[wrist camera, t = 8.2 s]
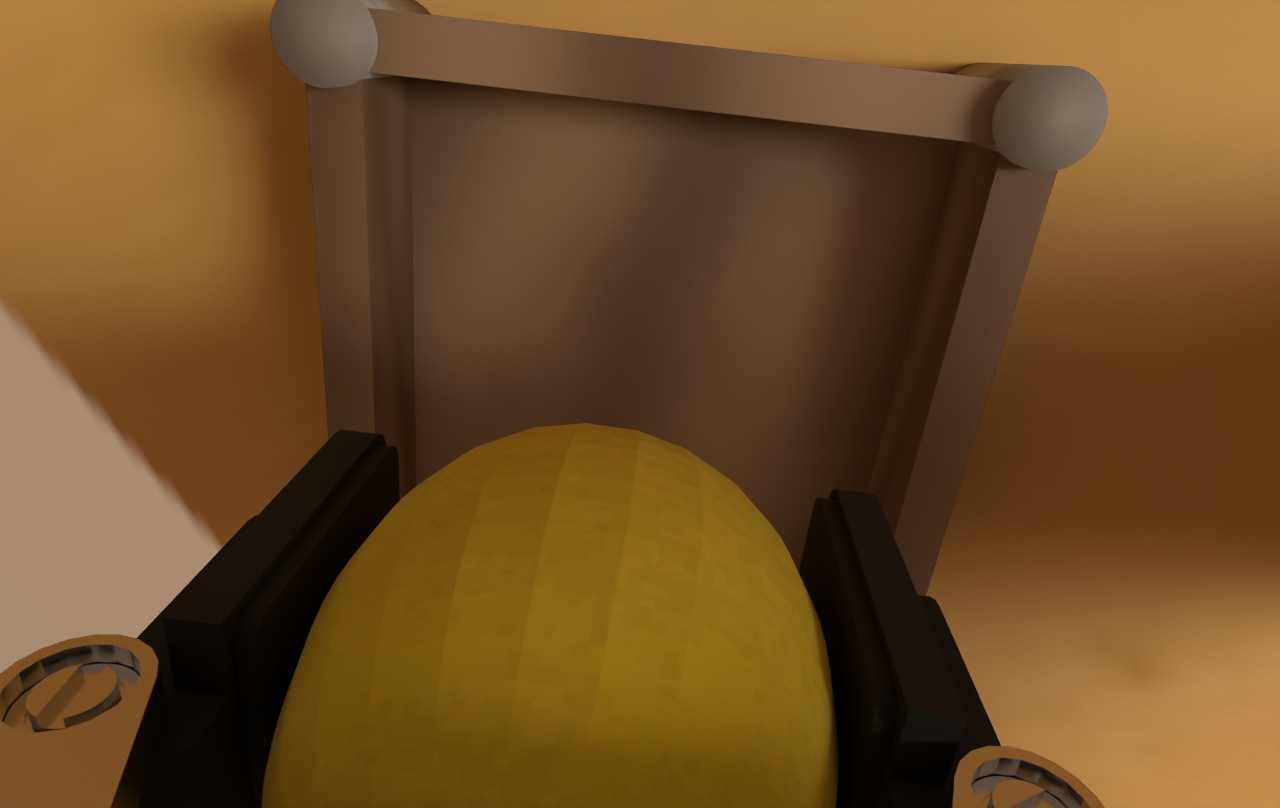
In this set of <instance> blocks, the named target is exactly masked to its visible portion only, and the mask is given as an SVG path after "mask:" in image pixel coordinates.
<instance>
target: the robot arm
mask: <svg viewBox="0 0 1280 808" xmlns="http://www.w3.org/2000/svg"><path fill="white" fill-rule="evenodd" d="M399 501H400V490H399V456H398V450H397V448H396V447H395V446H388V445H386V441H385V437H384V436H383V435H382V434H375V433H367V432H359V431H351V430H339V431H337V432H336V433H335V434H334V435H333V436H332V437H331V438H330V439H329V440H328V441H327V442H326V443H325V445H324V446H323V447H322V448H321V449H320V450H319V451H318V452H317V453H316V454H315V455H314V456H313V457H312V458H311V459H310V461H309V462H308V463H307V464H306V465H305V466H304V467H303V468H302V469H301V470H300V471H299V472H298V473H297V474H296V475H295V477H294V478H293V479H292V480H291V481H290V482H289V483H288V484H287V485H286V486H285V487H284V488H283V489H282V490H281V491H280V493H279V494H278V495H277V496H276V497H275V498H274V499H273V500H272V501H271V502H270V503H269V504H268V505H267V506H266V507H265V508H264V510H263V511H262V512H261V513H260V514H259V515H256V516H254V517H253V518H251V519H250V520H249V521H248V522H246V524H245V525H244V526H243V527H242V528H241V529H240V530H239V531H238V532H237V533H236V534H235V535H234V536H233V537H232V538H231V539H230V540H229V541H228V543H227V544H226V545H225V546H224V547H223V548H222V549H221V550H220V551H219V552H218V553H217V554H216V555H215V556H214V557H213V558H212V560H211V561H210V562H209V563H208V564H207V565H206V566H205V567H204V568H203V569H202V570H201V571H200V572H199V573H198V574H197V575H196V576H195V577H194V578H193V580H192V581H191V582H190V583H189V584H188V585H187V586H186V587H185V588H184V589H183V590H182V591H181V592H180V593H179V594H178V595H177V596H176V597H175V598H174V599H173V601H172V602H171V603H170V604H169V605H168V606H167V607H166V608H165V609H164V610H163V611H162V612H161V613H160V614H159V615H158V616H157V617H156V618H155V619H154V621H153V622H152V623H151V624H150V625H149V626H148V627H147V628H146V629H145V630H144V631H143V632H142V633H141V634H140V635H139V636H138V637H137V638H131V637H127V636H123V635H90V636H85V637H79V638H73V639H68V640H66V641H63V642H59V643H57V644H54V645H51V646H48V647H45V648H42V649H40V650H38V651H36V652H34V653H33V654H30V655H28V656H26V657H25V658H23V659H21V660H19V661H17V662H15V663H14V664H13V665H11V666H10V667H9V668H8V669H6V670H5V671H3V672H2V673H1V674H0V808H262V797H263V784H264V777H265V772H266V767H267V762H268V757H269V753H270V748H271V743H272V739H273V736H274V732H275V729H276V725H277V722H278V718H279V715H280V711H281V708H282V705H283V703H284V700H285V697H286V694H287V692H288V689H289V686H290V683H291V681H292V678H293V675H294V672H295V670H296V667H297V664H298V662H299V659H300V656H301V653H302V651H303V648H304V645H305V643H306V640H307V637H308V635H309V632H310V629H311V627H312V625H313V623H314V620H315V618H316V616H317V614H318V612H319V609H320V607H321V605H322V603H323V601H324V599H325V597H326V596H327V594H328V592H329V590H330V589H331V587H332V585H333V583H334V582H335V580H336V578H337V577H338V575H339V574H340V573H341V571H342V570H343V568H344V567H345V566H346V564H347V563H348V562H349V560H350V559H351V558H352V556H353V555H354V554H355V553H356V551H357V550H358V549H359V548H360V546H361V545H362V544H363V543H364V542H365V540H366V539H367V538H368V537H369V536H370V534H371V533H372V532H373V531H374V530H375V528H376V527H377V526H378V525H379V523H380V522H381V521H382V520H383V519H384V517H385V516H386V515H387V514H388V513H389V512H390V511H391V510H392V508H393V507H394V506H395V505H396V504H397V503H398V502H399ZM798 573H799V575H800V577H801V579H802V581H803V583H804V585H805V587H806V589H807V592H808V594H809V596H810V598H811V600H812V603H813V605H814V608H815V610H816V613H817V615H818V618H819V620H820V623H821V627H822V631H823V635H824V638H825V642H826V646H827V653H828V659H829V666H830V673H831V681H832V690H833V698H834V707H835V715H836V724H837V739H838V789H837V800H836V808H1105V807H1104V806H1103V804H1102V803H1101V802H1100V800H1099V799H1098V797H1097V796H1096V795H1095V794H1094V793H1093V792H1091V791H1090V790H1089V789H1088V788H1087V787H1086V786H1085V785H1084V784H1083V783H1082V782H1081V781H1080V780H1079V779H1078V778H1077V777H1075V776H1074V775H1072V774H1071V773H1069V772H1068V771H1066V770H1065V769H1063V768H1062V767H1060V766H1059V765H1058V764H1056V763H1054V762H1052V761H1050V760H1048V759H1045V758H1043V757H1041V756H1039V755H1037V754H1035V753H1033V752H1029V751H1025V750H1021V749H1017V748H1013V747H1010V746H1001V745H1000V742H999V740H998V738H997V736H996V733H995V731H994V729H993V726H992V724H991V722H990V720H989V717H988V715H987V713H986V711H985V708H984V706H983V704H982V702H981V699H980V697H979V695H978V692H977V690H976V688H975V686H974V683H973V681H972V679H971V677H970V674H969V672H968V670H967V668H966V665H965V663H964V661H963V659H962V656H961V654H960V652H959V649H958V647H957V645H956V643H955V640H954V638H953V636H952V634H951V631H950V629H949V627H948V625H947V622H946V620H945V618H944V615H943V613H942V611H941V609H940V607H939V605H938V604H937V602H936V600H935V599H933V598H931V597H929V596H922V595H918V594H917V592H916V589H915V587H914V585H913V582H912V580H911V577H910V575H909V572H908V570H907V568H906V565H905V563H904V560H903V558H902V555H901V553H900V550H899V548H898V546H897V543H896V541H895V538H894V536H893V533H892V531H891V529H890V526H889V524H888V521H887V519H886V516H885V514H884V512H883V509H882V507H881V504H880V502H879V499H878V497H877V496H876V494H870V493H861V492H853V491H845V490H837V489H834V490H833V491H832V492H831V494H830V496H829V499H824V498H817V499H816V501H815V503H814V506H813V510H812V515H811V519H810V523H809V528H808V532H807V537H806V541H805V546H804V550H803V554H802V559H801V563H800V568H799V572H798Z"/></svg>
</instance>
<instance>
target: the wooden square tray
mask: <svg viewBox="0 0 1280 808" xmlns="http://www.w3.org/2000/svg"><path fill="white" fill-rule="evenodd" d="M270 31H271V38H272V42H273V45H274V48H275V51H276V53H277V55H278V57H279V58H280V60H281V62H282V63H283V64H284V66H285V67H286V68H287V69H288V70H289V71H290V72H291V73H292V74H293V75H294V76H295V77H296V78H298V79H299V80H301V81H302V82H304V83H306V96H307V112H308V127H309V143H310V158H311V174H312V189H313V205H314V220H315V236H316V251H317V267H318V282H319V298H320V313H321V329H322V344H323V360H324V375H325V391H326V406H327V422H328V437H329V439H330V438H331V437H332V436H333V435H334V434H335V433H336V432H337V431H339V430H351V431H359V432H367V433H375V434H382V435H383V436H384V437H385V441H386V445H388V446H395V447H396V448H397V450H398V456H399V490H400V500H401V499H402V498H403V497H404V496H405V495H406V494H408V493H409V492H410V491H411V490H412V489H414V488H415V487H416V486H417V485H419V484H420V483H422V482H423V481H424V480H426V479H427V478H429V477H430V476H432V475H433V474H435V473H436V472H438V471H439V470H441V469H442V468H444V467H445V466H447V465H448V464H450V463H451V462H453V461H454V460H456V459H457V458H459V457H460V456H462V455H463V454H465V453H467V452H468V451H470V450H472V449H473V448H475V447H478V446H481V445H484V444H487V443H489V442H492V441H495V440H498V439H501V438H504V437H507V436H510V435H513V434H516V433H518V432H521V431H524V430H528V429H531V428H535V427H546V426H557V425H569V424H581V423H589V424H596V425H603V426H610V427H618V428H625V429H632V430H638V431H641V432H643V433H646V434H649V435H651V436H654V437H656V438H659V439H662V440H664V441H667V442H670V443H672V444H675V445H678V446H680V447H683V448H685V449H687V450H688V451H690V452H691V453H693V454H694V455H696V456H697V457H699V458H700V459H701V460H703V461H704V462H706V463H707V464H709V465H710V466H712V467H713V468H714V469H716V470H717V471H719V472H720V473H722V474H723V475H725V476H726V477H727V478H729V479H730V480H731V481H733V482H734V483H735V484H736V485H737V486H738V487H739V488H740V489H741V490H742V491H743V493H744V494H745V495H746V496H747V497H748V498H749V499H750V501H751V502H752V503H753V504H754V505H755V506H756V507H757V509H758V510H759V511H760V512H761V513H762V514H763V516H764V517H765V518H766V519H767V520H768V521H769V522H770V524H771V525H772V526H773V528H774V529H775V530H776V531H777V533H778V534H779V535H780V537H781V539H782V540H783V542H784V544H785V546H786V548H787V550H788V551H789V553H790V556H791V558H792V560H793V562H794V564H795V566H796V568H797V570H798V572H799V568H800V563H801V559H802V554H803V550H804V546H805V541H806V537H807V532H808V528H809V523H810V519H811V515H812V510H813V506H814V503H815V501H816V499H817V498H824V499H829V496H830V494H831V492H832V491H833V490H834V489H837V490H845V491H853V492H861V493H870V494H876V496H877V497H878V499H879V502H880V504H881V507H882V509H883V512H884V514H885V516H886V519H887V521H888V524H889V526H890V529H891V531H892V533H893V536H894V538H895V541H896V543H897V546H898V548H899V550H900V553H901V555H902V558H903V560H904V563H905V565H906V568H907V570H908V572H909V575H910V577H911V580H912V582H913V585H914V587H915V589H916V592H917V594H918V595H922V596H926V593H927V589H928V586H929V583H930V580H931V576H932V573H933V570H934V567H935V564H936V560H937V557H938V554H939V551H940V547H941V544H942V541H943V538H944V535H945V531H946V528H947V525H948V522H949V518H950V515H951V512H952V509H953V506H954V502H955V499H956V496H957V493H958V489H959V486H960V483H961V480H962V477H963V473H964V470H965V467H966V464H967V460H968V457H969V454H970V451H971V447H972V444H973V441H974V438H975V435H976V431H977V428H978V425H979V422H980V418H981V415H982V412H983V409H984V406H985V402H986V399H987V396H988V393H989V389H990V386H991V383H992V380H993V377H994V373H995V370H996V367H997V364H998V360H999V357H1000V354H1001V351H1002V348H1003V344H1004V341H1005V338H1006V335H1007V331H1008V328H1009V325H1010V322H1011V319H1012V315H1013V312H1014V309H1015V306H1016V302H1017V299H1018V296H1019V293H1020V289H1021V286H1022V283H1023V280H1024V277H1025V273H1026V270H1027V267H1028V264H1029V260H1030V257H1031V254H1032V251H1033V248H1034V244H1035V241H1036V238H1037V235H1038V231H1039V228H1040V225H1041V222H1042V219H1043V215H1044V212H1045V209H1046V206H1047V202H1048V199H1049V196H1050V193H1051V190H1052V186H1053V183H1054V180H1055V177H1056V173H1057V170H1060V169H1063V168H1066V167H1068V166H1070V165H1072V164H1074V163H1076V162H1077V161H1079V160H1080V159H1081V158H1083V157H1084V156H1085V155H1086V154H1087V153H1088V152H1089V151H1090V150H1091V149H1092V148H1093V147H1094V145H1095V144H1096V142H1097V141H1098V140H1099V138H1100V136H1101V134H1102V132H1103V129H1104V127H1105V123H1106V119H1107V98H1106V95H1105V92H1104V90H1103V88H1102V86H1101V84H1100V83H1099V81H1098V80H1097V79H1096V78H1095V77H1094V76H1093V75H1091V74H1090V73H1089V72H1087V71H1085V70H1083V69H1080V68H1077V67H1072V66H1052V65H1027V64H1001V63H976V64H971V65H969V66H966V67H964V68H962V69H960V70H959V71H958V72H956V73H955V74H945V73H936V72H928V71H919V70H910V69H901V68H893V67H884V66H875V65H866V64H857V63H849V62H840V61H831V60H822V59H813V58H805V57H796V56H787V55H778V54H769V53H761V52H752V51H743V50H734V49H725V48H717V47H708V46H699V45H690V44H681V43H673V42H664V41H655V40H646V39H638V38H629V37H620V36H611V35H602V34H594V33H585V32H576V31H567V30H558V29H550V28H541V27H532V26H523V25H514V24H506V23H497V22H488V21H479V20H470V19H462V18H453V17H444V16H435V15H431V14H430V13H429V12H428V10H427V9H426V8H425V7H423V6H422V5H421V4H420V3H418V2H417V1H415V0H277V1H276V3H275V5H274V7H273V10H272V14H271V21H270Z"/></svg>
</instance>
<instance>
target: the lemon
mask: <svg viewBox="0 0 1280 808" xmlns="http://www.w3.org/2000/svg"><path fill="white" fill-rule="evenodd" d="M837 789H838V739H837V724H836V715H835V707H834V698H833V690H832V681H831V673H830V666H829V659H828V653H827V646H826V642H825V638H824V635H823V631H822V627H821V623H820V620H819V618H818V615H817V613H816V610H815V608H814V605H813V603H812V600H811V598H810V596H809V594H808V592H807V589H806V587H805V585H804V583H803V581H802V579H801V577H800V575H799V573H798V570H797V568H796V566H795V564H794V562H793V560H792V558H791V556H790V553H789V551H788V550H787V548H786V546H785V544H784V542H783V540H782V539H781V537H780V535H779V534H778V533H777V531H776V530H775V529H774V528H773V526H772V525H771V524H770V522H769V521H768V520H767V519H766V518H765V517H764V516H763V514H762V513H761V512H760V511H759V510H758V509H757V507H756V506H755V505H754V504H753V503H752V502H751V501H750V499H749V498H748V497H747V496H746V495H745V494H744V493H743V491H742V490H741V489H740V488H739V487H738V486H737V485H736V484H735V483H734V482H733V481H731V480H730V479H729V478H727V477H726V476H725V475H723V474H722V473H720V472H719V471H717V470H716V469H714V468H713V467H712V466H710V465H709V464H707V463H706V462H704V461H703V460H701V459H700V458H699V457H697V456H696V455H694V454H693V453H691V452H690V451H688V450H687V449H685V448H683V447H680V446H678V445H675V444H672V443H670V442H667V441H664V440H662V439H659V438H656V437H654V436H651V435H649V434H646V433H643V432H641V431H638V430H632V429H625V428H618V427H610V426H603V425H596V424H589V423H581V424H569V425H557V426H546V427H535V428H531V429H528V430H524V431H521V432H518V433H516V434H513V435H510V436H507V437H504V438H501V439H498V440H495V441H492V442H489V443H487V444H484V445H481V446H478V447H475V448H473V449H472V450H470V451H468V452H467V453H465V454H463V455H462V456H460V457H459V458H457V459H456V460H454V461H453V462H451V463H450V464H448V465H447V466H445V467H444V468H442V469H441V470H439V471H438V472H436V473H435V474H433V475H432V476H430V477H429V478H427V479H426V480H424V481H423V482H422V483H420V484H419V485H417V486H416V487H415V488H414V489H412V490H411V491H410V492H409V493H408V494H406V495H405V496H404V497H403V498H402V499H401V500H400V501H399V502H398V503H397V504H396V505H395V506H394V507H393V508H392V510H391V511H390V512H389V513H388V514H387V515H386V516H385V517H384V519H383V520H382V521H381V522H380V523H379V525H378V526H377V527H376V528H375V530H374V531H373V532H372V533H371V534H370V536H369V537H368V538H367V539H366V540H365V542H364V543H363V544H362V545H361V546H360V548H359V549H358V550H357V551H356V553H355V554H354V555H353V556H352V558H351V559H350V560H349V562H348V563H347V564H346V566H345V567H344V568H343V570H342V571H341V573H340V574H339V575H338V577H337V578H336V580H335V582H334V583H333V585H332V587H331V589H330V590H329V592H328V594H327V596H326V597H325V599H324V601H323V603H322V605H321V607H320V609H319V612H318V614H317V616H316V618H315V620H314V623H313V625H312V627H311V629H310V632H309V635H308V637H307V640H306V643H305V645H304V648H303V651H302V653H301V656H300V659H299V662H298V664H297V667H296V670H295V672H294V675H293V678H292V681H291V683H290V686H289V689H288V692H287V694H286V697H285V700H284V703H283V705H282V708H281V711H280V715H279V718H278V722H277V725H276V729H275V732H274V736H273V739H272V743H271V748H270V753H269V757H268V762H267V767H266V772H265V777H264V784H263V797H262V808H836V800H837Z"/></svg>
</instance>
